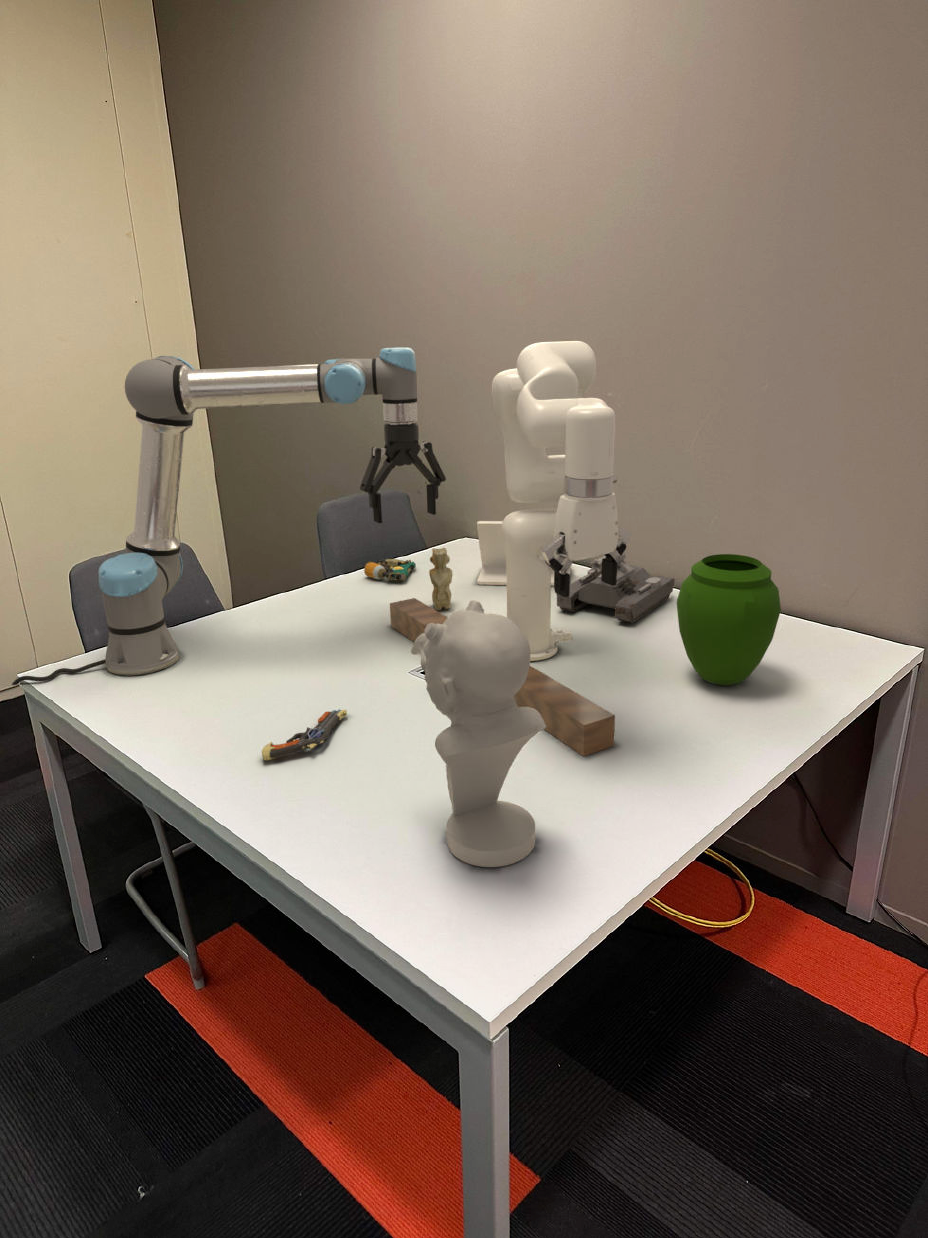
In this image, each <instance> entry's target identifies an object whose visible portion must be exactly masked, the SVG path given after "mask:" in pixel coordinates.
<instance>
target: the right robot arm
mask: <svg viewBox="0 0 928 1238" xmlns="http://www.w3.org/2000/svg"><path fill="white" fill-rule="evenodd" d="M596 374H597V359H596V355H595V353H594V350H593V349H592V348H591V346H590V345H589V344H588V343H586V342H584V341H579V340H572V341H571V340H569V341H542V342H535V343H532V344H530V345H527V346H526V347H524V348H523V349H522V350H521V352H520V353H519V355H518V357H517V360H516V368H510V369H505V370H503V371H500V372H499V373H496V374H495V376H494V378H493V379H492V382H491V399H492V400H491V401H492V407H493V410H494V414H495V416H496V419H497V421H498V424H499V427H500V429H501V434H502V437H503V450H504V451H503V452H504V453H503V454H504V470H505V485H506V491H507V496H508V498H509V499H510V500H511V501H512V502H515V503H521V504H532V503H533V504H534V503H547V502H549V503H550V502H557V507H547V508H544V507H543V508H529V509H528V508H527V509H520V510H516V511H515V510H514V511H512V512H510V513H508V514H507V515H505V517H504V519H503V520H502V521H503V522H502V538H503V544H504V550H505V558H506V578H507V585H506V617H507V618H509V619H511V620H512V621H513V622H514V623H515V624H516V625H517V626H518V627H519V628H520V629H521V630H522V632H523V633H524V634H525V636H526V638H527V640H528V643H529V646H530V652H531V653H530V655H531V656H530V662H535V661H536V662H537V661H543V660H547V659H550V658H552V657H554V656H555V655H556V654H557V652H558V643H559V642H568V641H569V642H570V641H572V640H573V633H572V632H571V631H563V629H556V630H553V629H552V628H551V625H552V621H551V618H552V616H551V613H552V609H551V608H552V586H551V575H550V571H549V569H548V568H547V566H546V565H545V564H544V563H543V562H542V561H541V560H540V559H539V556H540V555H543V557H544V559H545V562H546V564H547V565H549V566H550V567H551V569H552V570H554V586H553V589H554V593H555V594H559V595H561V596H563V597H565V598H566V597H569V594H570V584H571V573H570V574H568V573H566V572H567V571H568V569H569V568H570V569H571V566H572V565H573V563H574V562H576V561H581V560H586V559H591V558H597V557H601V556H605V557H606V558H603V559H602V573H601V580H602V582H605V583H607V584H609V585H612V586H615V585H616V583H617V562H619V561H620V560H621V555H622V554H623V552H624V551H625V552H626V549H627V545H628V543H629V540H630V538H631V536H632V533H631V531H628V530H626V529H624V528H622V527H619V513H618V504H617V498H616V494H615V492H614V484H616V483H617V482H618V477H617V475H616V474H614V471H615V470H614V469H615V468H614V465H615V445H616V444H615V443H616V413H615V410H614V409H613V408H612V407H610V406H608V404H607V403H606V402H605V401H604V400H603V399H601V398H598V397H597V398H596V397H585V395H586V394H587V393H588V391H589V390H590V388H591V387H592V385H593V383H594V381H595V378H596ZM562 447H564V449H565V450H564V451H565V452H564V454H552V455H548V454H547V452H546V448H562ZM554 553H555V554H557V557H556V558H555V556H554ZM564 558H565V561H564V562H563V560H564ZM562 562H563V564H562ZM561 564H562V565H561Z"/></svg>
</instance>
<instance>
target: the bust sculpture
mask: <svg viewBox="0 0 928 1238" xmlns="http://www.w3.org/2000/svg"><path fill="white" fill-rule="evenodd" d="M447 617H448V618H447V619H446V620H445V622H444V623H443V624H434V623H430V624H428V625H427V626H426V628H425V633H423V634H421V635H419V636H418V637H417V639H416V640H415V642H413V645H412V647H411V649H410V654H412V655H420V667H421V669H422V670H423V672H424V681H425V682H426V690H427V693H428V696H429V698H430V701H431V702H432V704H434V706H435V708H436V710H438V711H439V712H440V713H441V714H442V716H446V717H447V718H448V719H449V720H450V726H448V727H446V728H445V729H443V730H442V731H441V732H440V733H439V734H438V735H436V738H435V741H434V748H435V749H436V752H437V753H438V755H439V757H440V758H441V760H442V761H443V762H444V763H445V771H446V781H447V790H448V796H449V800H450V803H451V810H452V813H451V814H450V815H449V817H448V819H447V822H446V844H447V847H448V849H449V851H450V852H451V854H452V855H453V856H454V857H456V858H457V859H459V860H460V861H462V862H463V863H466V864H469V865H471V866H476V867H483V868H498V867H505V866H509V865H512V864H517V862H520V861H521V860H523V859H525V858H527V856H528V855H530V854H531V852H532V851H533V849H535V848H534V847H535V845H536V822H535V821H536V820H535V819H534V817H533V816H532V814H531V813H530V812H529V811H528V810H526V809H525V808H524V807H522V806H520V805H517V804H515V803H513V802H509V801H504V800H499V796H500V793H501V790H502V788H503V785H504V783H505V780H506V778H507V776H508V773H509V771H510V769H511V768H512V765H513V763H514V761H515V760H516V759H517V756H518V755H519V753H520V752H521V750H522V749H523V748H524V747H525V745H526V744H527V743H528V742H529V741H530V740H531V739H532V738H533V737H535V735H537V734H538V733H539V732H541V731H544V729H545V728H546V725H545V722H544V720H543V718H542V716H541V715H540V713H539V712H538V711H537V710H536V709H533V708H530V707H518V706H517V705H516V698H515V697H514V695H515V694H516V693H517V692H518V691H519V690H520V689H521V688H522V686H523V685H524V683H525V680H526V678H527V675H528V671H529V666H531V661H530V656H531V655H530V653H531V652H530V646H529V643H528V640H527V638H526V636H525V634H524V633H523V632H522V630H521V629H520V628H519V627H518V626H517V625H516V624H515V623H514V622H513V621H512V620H511V619H509V618H507V616H504V615H503V614H502V615H501V614H496V613H485V609H484V607H483V605H482V603H481V602H480V601H478V600H473V599H472V600H470V601H469V603H468V605H467V607H466V609H460V610H457V611H455V612H453V613H451V615H449V616H447Z"/></svg>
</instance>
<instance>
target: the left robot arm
mask: <svg viewBox="0 0 928 1238" xmlns="http://www.w3.org/2000/svg"><path fill="white" fill-rule="evenodd" d="M416 361H417V360H416V353H415V351H414V350H413V349H412V348H411V347H385V348H381V349H380V350H379V355H378V357H375V358H374V357H373V358H342V357H341V358H340V357H339V358H335V359H327V360H326V361H324V363H321V364H319V363H318V364H297V365H292V364H291V365H274V366H273V365H272V366H250V367H249V366H248V367H247V366H246V367H225V368H224V367H223V368H222V367H221V368H203V369H202V368H201V369H200V368H199V369H196V368H194V366H192V364H190V363H189V362H187V361H186V360H185V359H183V358H181V357H178V356H172V355H160V356H157V357H154V358H149V359H145V360H142V361H140V362H137V363H136V364H135V365H133V366H132V367H131V368H130V370H128V373H127V374H126V377H125V380H124V393H125V397H126V399H127V401H128V403H129V405H130V406H131V407H132V408H133V409H134V410H135V418H136V420H137V421H138V422H139V424H140V425H141V426H142V428H141V442H140V452H139V453H140V455H139V466H138V467H139V468H138V480H137V489H136V490H137V491H136V503H135V504H136V505H135V515H134V526H133V527H134V528H133V531H132V532H131V533H130V534H128V535H127V536H126V537H125V538H126V539H125V540H126V541H125V550H124V551H125V552H124V553H122V554H117V555H115V557H114V556H113V557H110V558H108V559H106V560H105V561H103V562H102V563H101V565H100V566H99V568H98V586H99V589H100V593H101V598H102V603H103V609H104V614H105V618H106V624H107V629H108V634H109V635H108V639H107V646H106V652H105V658H103V659H101V660H98V661H95V662H91V663H89V664H86V665H83V666H80V667H77V668H68V667H62V668H58V669H55V670H54V671H53V672H52V673H50V674H49V675H46V676H33V675H22V676H20V677H17V678H16V679H15V680H13V682H12V684H11V686H17V685H18V684H20V683H21V682H24V681H33V682H47V681H50V680H52V679H54V678H55V677H56V676H57V675H59V674H62V673H63V674H64V673H67V674H78V673H81V672H84V671H87V670H90V669H92V668H95V667H99V666H103V665H105V668H106V670H107V671H108V672H109V673H111V674H114V675H119V676H140V675H147V674H153V673H156V672H158V671H162V670H165V669H167V668H169V667H171V666H172V665H175V664H176V663H177V661H178V660H179V659H180V651H179V647H178V645H177V643H176V641H175V639H174V638H173V635H172V634H171V632H170V630H169V629H168V627H167V625H166V619H165V613H164V612H165V611H164V606H163V600H164V598H165V597H166V596H167V595H168V594H169V593H170V592H171V591H172V590H173V589H174V588H175V587H176V586H177V585H178V583H179V581H180V580H181V577H182V574H183V570H184V563H183V558H182V556H181V542H180V540H179V539H178V538H177V537H176V536H175V532H176V521H177V512H178V500H179V490H180V481H181V472H182V471H181V470H182V460H183V452H184V442H185V441H184V439H185V433H186V432H187V431H188V430H190V429H191V428H192V427H193V423H194V414H195V412H196V411H197V410H205V409H224V408H225V409H226V408H228V409H229V408H244V407H247V408H248V407H265V406H268V407H269V406H289V405H307V404H336V403H337V404H340V405H350V404H354V403H355V402H357V401H359V400H360V398H362V396H372V395H373V396H378V395H381V397H382V416H383V421H384V422H385V423H384V424H383V435H384V447H378V446H372V447H371V453H370V454H371V455H370V459H369V461H368V465H367V468H366V471H365V472H364V475H363V478H362V480H361V483H360V486H359V490H360V491H362V492H364V493H367V494H368V505H369V508H371V509H372V512H373V513H372V515H373V522H374V523H375V522H376V523H377V524H382V523H383V513H382V511H383V510H382V496H381V493H379V490H380V489H381V487H382V486H383V484H384V482H385V481H386V480H387V479H388V477H389V475H390V473H391V472H392V470H394V469H395V468H396V467H402V466H405V465H406V466H411V465H414V467H415V468H416V469H417V470H418V471H419V472H420V474H421V475H422V476H423V477H424V478H425V480H426V481H428V484H426V510H427V511H426V512H427V514H430V515H433V516H434V515H437V505H436V503H437V502H436V500H438V499H439V487H440V486H441V483H443V482H446V481H447V477H446V476H445V474H444V471H443V469H442V467H441V465H440V463H439V461H438V460H437V456H436V455H435V453H434V450H433V443H432V442H430V441H426V440H424V441H422V442H421V443H420V442H419V438H420V431H419V430H420V429H419V423H418V422H417V421H418V420H419V408H418V407H419V405H418V380H417V379H418V377H417V376H418V375H417V363H416ZM420 451H421V452H422V453H423V455H424V457H425V459H426V460H427V463H428V465H429V467H430V469H431V470H430V469H429V468H428V467H427V466H426V465H425V463H423V460H422V459H421V458H420V457H419V456H418V455H419V453H420ZM384 455H385V456H386V458H385V459H384V461H383V462H382V466H381V467H380V469H379V466H380V463H381V459H382V458H383V457H384ZM378 469H379V470H378ZM431 471H432V472H431Z"/></svg>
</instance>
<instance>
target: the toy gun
mask: <svg viewBox="0 0 928 1238" xmlns="http://www.w3.org/2000/svg"><path fill="white" fill-rule="evenodd" d="M347 712H348V710H347V709H340V708H339V709H338V710H336V709H333V710H332V711H330V710H329V711H324V713H323V714H322V715H321V716H320V717H319V718H318V719H317V724H316V726H314V727H313V728H311V727H306V730H305V731H304V732H297V733H295V734H294V735H292V736H291V737H290V738H289V739H287V740H286V741H285V742H284V743H280V744H274V743H273V742H272V741H271V742H269V743H267V744H265V746H264V747H262V749H261V755H262V760H263V761H271V760H274V759H278V758H283V757H285V756H288V755H292V754H295V753H299V752H302V751H305V750H307V749H309V750H312V749H314V748H315V747H317V746H318V745H320V744H323V743H324V742H325V741H326V739H327V738H328V737H329V736H330V734H331V732H332V730H333V729H334V728H335V726H336V725H337V724H338V723H339V722H340V721H341V720H342V719H343V718H344V717H347V715H348V713H347Z"/></svg>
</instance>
